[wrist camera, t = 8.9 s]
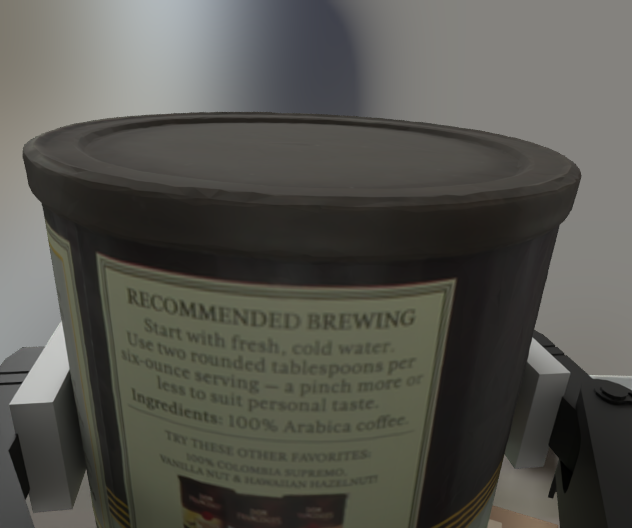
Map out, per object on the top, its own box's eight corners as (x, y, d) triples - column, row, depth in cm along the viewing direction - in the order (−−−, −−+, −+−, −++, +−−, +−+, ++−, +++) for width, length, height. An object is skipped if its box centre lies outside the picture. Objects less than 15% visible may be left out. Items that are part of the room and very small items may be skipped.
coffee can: (365, 446, 22) (402, 111, 16) (538, 719, 13) (738, 183, 8) (112, 506, 18) (54, 105, 13) (110, 937, 9) (-74, 227, 4)
